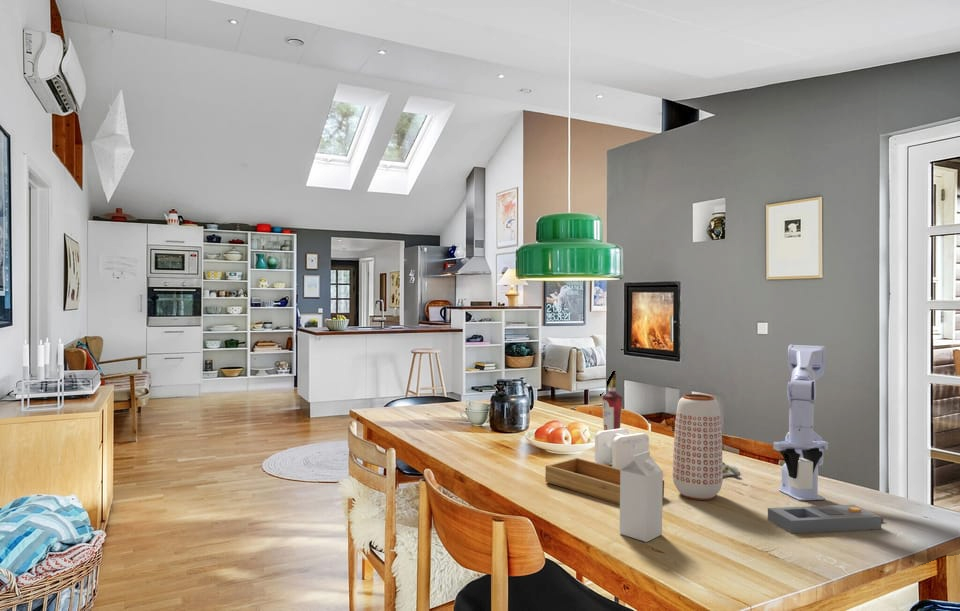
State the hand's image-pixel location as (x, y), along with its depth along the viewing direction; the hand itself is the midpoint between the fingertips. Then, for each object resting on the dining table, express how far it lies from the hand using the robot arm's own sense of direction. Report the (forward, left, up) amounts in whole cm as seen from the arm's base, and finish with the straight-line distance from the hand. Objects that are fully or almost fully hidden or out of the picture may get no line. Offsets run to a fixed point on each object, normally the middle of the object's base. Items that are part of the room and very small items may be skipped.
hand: (800, 477), depth 160 cm
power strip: (+10, +1, -9) cm, 13 cm away
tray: (-23, -46, -10) cm, 52 cm away
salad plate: (-40, -4, -9) cm, 41 cm away
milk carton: (+11, -49, -9) cm, 51 cm away
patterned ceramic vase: (-15, -21, -9) cm, 27 cm away
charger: (0, 0, -2) cm, 2 cm away
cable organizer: (-46, -31, -9) cm, 56 cm away
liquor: (-74, -24, -9) cm, 78 cm away
